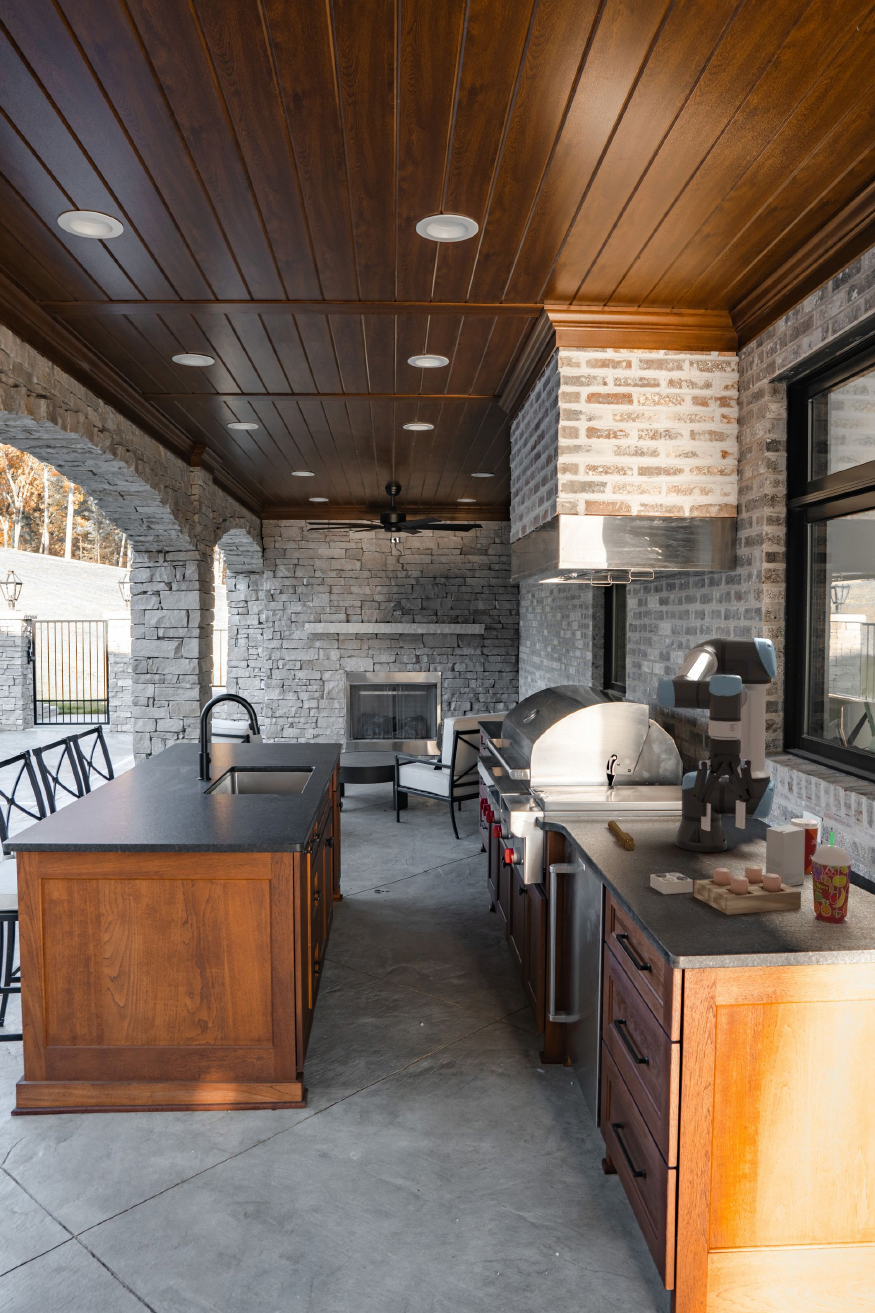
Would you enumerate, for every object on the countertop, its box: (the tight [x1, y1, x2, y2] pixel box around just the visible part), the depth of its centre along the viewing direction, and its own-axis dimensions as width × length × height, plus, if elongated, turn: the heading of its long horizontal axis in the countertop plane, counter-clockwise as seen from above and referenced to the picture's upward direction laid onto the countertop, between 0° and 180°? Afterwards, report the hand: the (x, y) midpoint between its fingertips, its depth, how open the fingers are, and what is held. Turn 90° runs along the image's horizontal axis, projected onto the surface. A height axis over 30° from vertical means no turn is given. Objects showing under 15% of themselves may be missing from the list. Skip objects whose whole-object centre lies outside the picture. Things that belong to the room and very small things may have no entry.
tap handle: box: [607, 820, 636, 851], centre depth 262 cm, size 3×3×30 cm
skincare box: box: [765, 824, 805, 887], centre depth 215 cm, size 8×6×15 cm
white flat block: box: [649, 871, 694, 895], centre depth 209 cm, size 7×8×3 cm
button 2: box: [730, 875, 749, 895], centre depth 195 cm, size 4×4×4 cm
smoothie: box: [811, 832, 853, 924], centre depth 188 cm, size 8×8×20 cm
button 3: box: [744, 865, 763, 884], centre depth 204 cm, size 4×4×4 cm
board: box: [693, 874, 802, 916], centre depth 199 cm, size 14×20×4 cm
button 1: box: [712, 867, 732, 886], centre depth 202 cm, size 4×4×4 cm
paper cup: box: [788, 817, 820, 874], centre depth 227 cm, size 8×8×14 cm
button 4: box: [762, 873, 781, 893], centre depth 197 cm, size 4×4×4 cm
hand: (723, 828), depth 201 cm, fingers open, 9 cm apart
